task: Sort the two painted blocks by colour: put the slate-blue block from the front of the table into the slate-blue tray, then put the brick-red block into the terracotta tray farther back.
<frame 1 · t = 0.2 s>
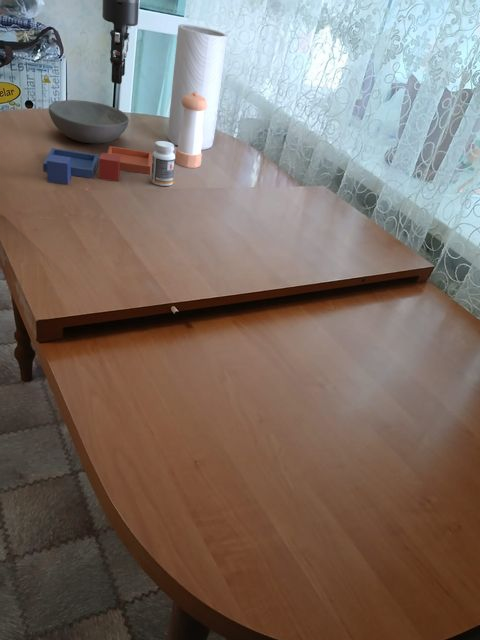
hand: (118, 79, 126), 23 cm above the table, tool pointing down, fingers open, 8 cm apart
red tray: (129, 163, 147), on the table
red block: (109, 176, 137), on the table
pill bottle: (161, 183, 141), on the table
blue block: (59, 179, 130), on the table
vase: (190, 144, 172), on the table
salt shaker: (187, 163, 157), on the table
bowl: (89, 140, 156), on the table
blue tray: (72, 167, 138), on the table
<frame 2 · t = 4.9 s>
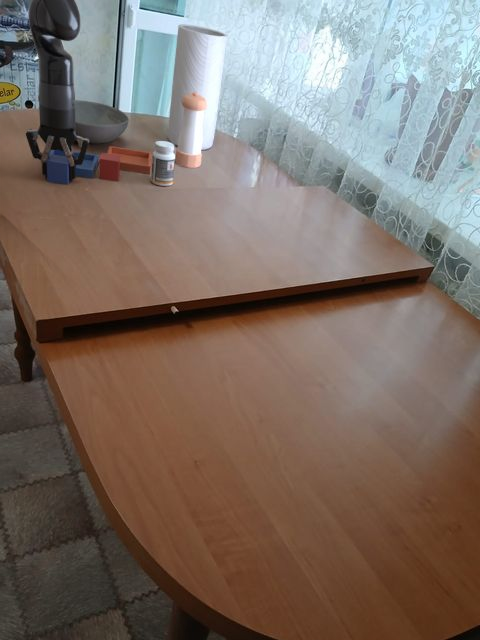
hand: (59, 178, 130), 0 cm above the table, tool pointing down, fingers closed on blue block, 4 cm apart
blue block: (59, 179, 130), on the table, touching gripper
everything else where it was.
when the fingers open (1 cm above the table, at t = 23.5 s): blue block stays where it is, resting on blue tray.
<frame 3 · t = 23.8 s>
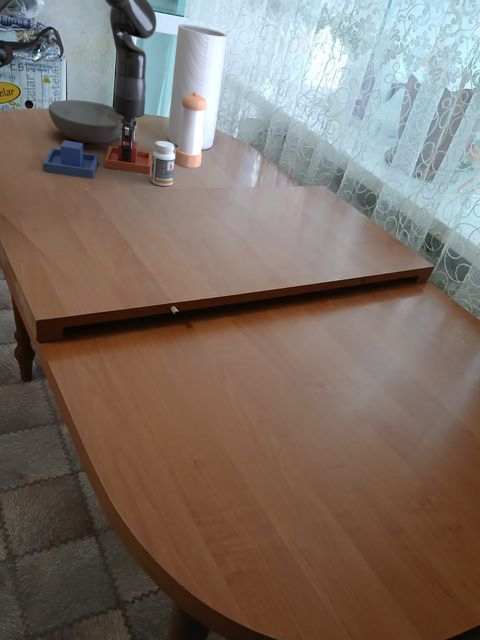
hand: (127, 159, 146), 1 cm above the table, tool pointing down, fingers open, 6 cm apart
red block: (127, 162, 146), point 1 cm above the table, touching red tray
blue block: (72, 164, 137), point 1 cm above the table, touching blue tray
everything else where it was.
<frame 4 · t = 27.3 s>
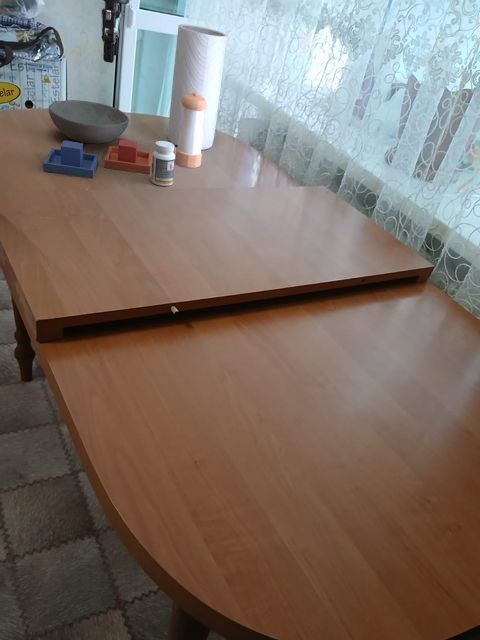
hand: (110, 58, 126), 26 cm above the table, tool pointing down, fingers open, 8 cm apart
nothing on the table moved.
at the end: blue block inside the target area in the blue tray (0.1 cm from its centre), point 0.6 cm above the blue tray's base; red block inside the target area in the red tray (1.1 cm from its centre), point 0.6 cm above the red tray's base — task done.
